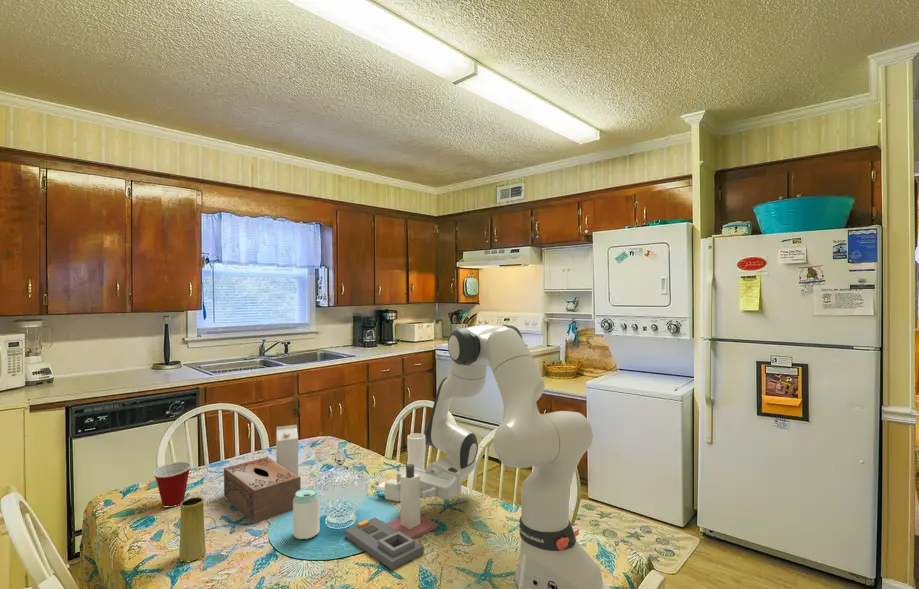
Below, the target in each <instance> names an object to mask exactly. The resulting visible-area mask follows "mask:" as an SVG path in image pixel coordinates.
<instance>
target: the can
mask: <svg viewBox="0 0 919 589" xmlns="http://www.w3.org/2000/svg"><path fill="white" fill-rule="evenodd" d="M292 512H293V513H292V517H293V519H292V522H293V523H292V525H293V527H292V528H293V529H292V530H293V533H292V534H293V537H294V538H296V539H298V540H301V539H306V540H310V539H312V537H313V538H315V535H316V536H317V535H318V534H319V533H320V531H321V530H320V519H321V518H320V495H319V493H318V490H317V489H316V488H312V487H307V488H301V490H299V491H297V492H296V494H295V497H294V499H293V510H292ZM309 538H310V539H309Z"/></svg>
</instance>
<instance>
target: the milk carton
mask: <svg viewBox="0 0 919 589" xmlns="http://www.w3.org/2000/svg"><path fill="white" fill-rule="evenodd" d="M275 433H276V434H275V438H276V439H275V448H276V451H275V452H276V453H275V457H276V460H275V462H276V463H278V464H280V465H281V466H283V467H285V468H286V469H288V470H290V471H291V472H293V473H295V474H296V475H298V476H299V434H298V425H297V424H293V425H292V424H291V425H285V426H276V432H275Z"/></svg>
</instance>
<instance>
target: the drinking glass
mask: <svg viewBox="0 0 919 589" xmlns="http://www.w3.org/2000/svg"><path fill="white" fill-rule="evenodd" d="M406 440H407V441H406V442H407V443H406V444H407V445H406V446H407V458H408V459H407V460H408V464H413V465H414V467H416V468H420V469H424V470H425V460H426V459H425V457H426V444H427V442H426V439H425V433H419V432H417V433H411V434H408V435H407V437H406Z"/></svg>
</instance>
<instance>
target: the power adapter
mask: <svg viewBox="0 0 919 589" xmlns="http://www.w3.org/2000/svg"><path fill="white" fill-rule="evenodd" d="M396 484H397V479H394V478H389V479H388V480H386V481H382V482H381V483H380V482H375V485H371V486H370V487H371V489H376V491H377V492H381V493H384V499H385V500H387V501H391V502H401V495H400V491H399V490H396Z"/></svg>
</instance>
